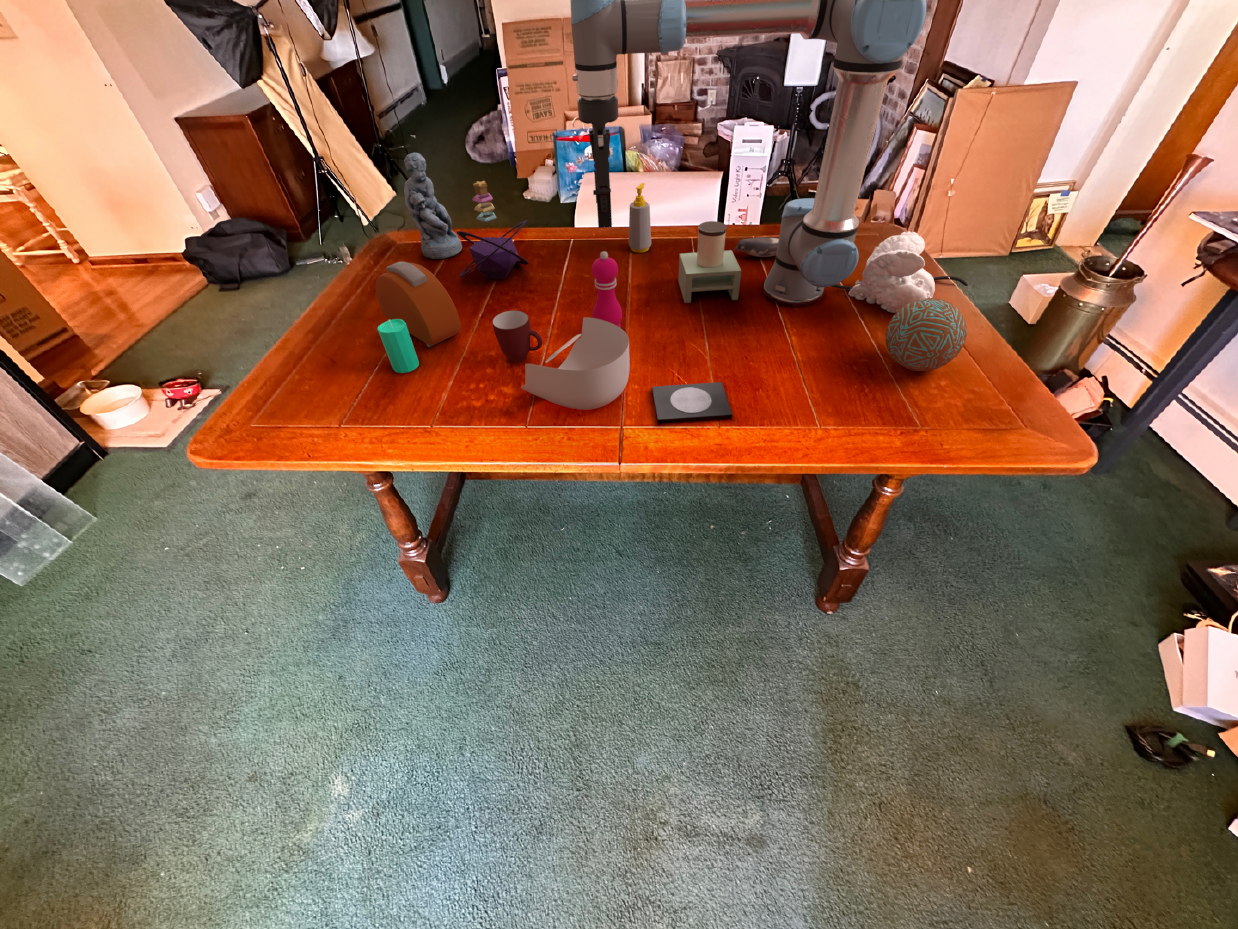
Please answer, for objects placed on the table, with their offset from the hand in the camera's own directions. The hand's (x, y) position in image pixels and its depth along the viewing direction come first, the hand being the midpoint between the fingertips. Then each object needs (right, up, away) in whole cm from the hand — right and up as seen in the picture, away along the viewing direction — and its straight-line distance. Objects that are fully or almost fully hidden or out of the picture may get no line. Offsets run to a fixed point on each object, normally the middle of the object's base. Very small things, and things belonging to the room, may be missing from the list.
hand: (603, 214), depth 117 cm
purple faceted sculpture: (-32, +2, +44) cm, 54 cm away
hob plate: (+18, -40, -2) cm, 44 cm away
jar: (+27, 0, +27) cm, 38 cm away
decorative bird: (+49, +8, +46) cm, 67 cm away
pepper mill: (+1, -20, +20) cm, 28 cm away
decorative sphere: (+68, -31, +5) cm, 75 cm away
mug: (-19, -28, +13) cm, 36 cm away
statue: (-53, +14, +57) cm, 79 cm away
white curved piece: (-4, -37, +3) cm, 37 cm away
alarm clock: (-46, -19, +23) cm, 55 cm away
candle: (-46, -30, +12) cm, 56 cm away
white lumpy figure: (+72, -11, +25) cm, 77 cm away
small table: (+27, -6, +33) cm, 43 cm away
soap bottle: (+10, +13, +53) cm, 55 cm away
